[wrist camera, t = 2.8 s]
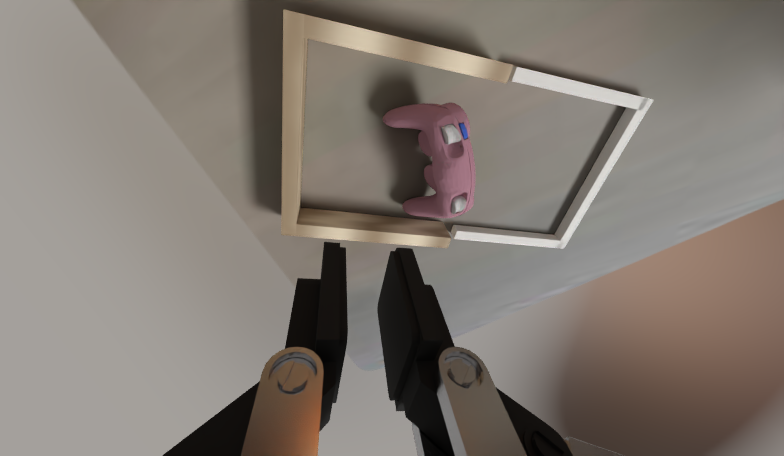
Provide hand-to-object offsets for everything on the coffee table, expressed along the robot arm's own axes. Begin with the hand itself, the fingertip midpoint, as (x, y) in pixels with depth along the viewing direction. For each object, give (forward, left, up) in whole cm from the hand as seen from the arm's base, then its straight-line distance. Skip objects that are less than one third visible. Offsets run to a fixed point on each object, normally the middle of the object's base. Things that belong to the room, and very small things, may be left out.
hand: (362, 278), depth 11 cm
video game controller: (-7, 0, -17) cm, 19 cm away
